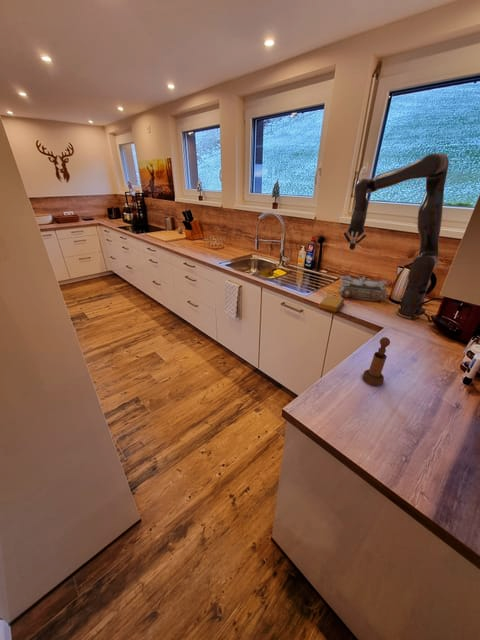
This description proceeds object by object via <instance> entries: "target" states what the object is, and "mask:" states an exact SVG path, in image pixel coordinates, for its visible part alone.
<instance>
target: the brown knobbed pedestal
mask: <svg viewBox="0 0 480 640" xmlns="http://www.w3.org/2000/svg"><path fill="white" fill-rule="evenodd" d="M379 344H380V347H378V351H376V352H374V353H373V356H372V360H371V363H370V365H369V368H368V369H366V370H364V371H363V374H362V380H363V381H364V382H365V383H366V384H368V385H370V386H374V387H380V386H382V385H383V383H384V380H385V376H384V375H383V374H382V372H383V369H384V366H385V363H386V361H387V358H388V356H387V354H385V353H386V352H387V350H386V348H387V347H389V346H390V344H391V340H390V338H389V337H385V336H383V337H381V338H380V339H379Z"/></svg>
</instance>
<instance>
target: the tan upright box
mask: <svg viewBox="0 0 480 640" xmlns="http://www.w3.org/2000/svg"><path fill="white" fill-rule="evenodd" d="M344 302H345V298H342V297H339V296H334V295H329V294H327V295H325V297H324V298H323V299H321V301H320V302H319V304H318V309H322V310H326V311H329V312H333V313H338V312H339V310H340V309H342V306H343V305H344V304H345V303H344Z"/></svg>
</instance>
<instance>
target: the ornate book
mask: <svg viewBox="0 0 480 640" xmlns="http://www.w3.org/2000/svg"><path fill="white" fill-rule="evenodd" d="M340 277H341V278H340V282H339V285H340V290H338V293H339V294H340V295H341V296H342V297H344V299H347V298H353V299H357V300H363V301H370V302H371V301H373V302H374V301H376V302H377V301H380V303H382V302H383V301H384V300H385V302H387V298H390V296H389V295H387V293H389V291H388V290H387V287H386V286H385V285H388V286H389V285H390V283H387V282H388V280H373V279H366V277H364V276H362V277H360V276H358V278H354V277H352V276H350V275H348V274H346V275H340Z"/></svg>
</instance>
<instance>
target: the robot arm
mask: <svg viewBox="0 0 480 640" xmlns="http://www.w3.org/2000/svg"><path fill="white" fill-rule="evenodd" d="M449 165H450V159H449V157H448V155H446V154H444V153H437V152H435V153H429V154H427V155H425V156H423V157H421V158H419V159H417V160H416V161H414V162H411V163H409V164H406V165H404V166H401V167H397V168H394V169H392V170H389V171H385V172H382V173H380V174H377V175H376V176H375V177H372V178H371V177H370V178H361V179H359V180H358V181H357V182H356V184H355V187H354V207H353V210H352V214H351V218H350V224H349V228H348V229H347V231H345V232H343V235H344V238H345V239H346V242H348V243H349V249H350V251H354V250H355V249H356V244H359V243H360V242H361V241H362V240H364V238H366V237H367V233H365V230H364V228H365V224H366V220H367V215H368V209H369V204H370V200H369V198H367V194H371V193H374V192H377V191H379V190H382V189H386V188H389V187H392V186H396V185H398V184H401V183H403V182H406V181H409V180H414V179H424V178H425V191H424V195H423V197H422V200H421V202H420V205H419V208H418V212H417V224H416V225H417V226H416V227H417V232H418V237H419V243H420V244H419V251H418V255H417V256H416V257H415V258H413V259H414V260H412V263H411V266H410V270H409V272H408V276H407V282H406V285H405V287H404V290H403V294H402V297H401V299H400V303H399V304H398V309H397V311H396V314H397V316H399V317H401V318H404V319H408V320H412V321H414V320H415V319H417V318H419V317H421V316H422V315H424V316H426V318H427V320H428V322H430V323H433V322H434V321H433V320H434V319H431V317H430V316H429V315H428V314H427V313H426V310H427V309H426V308H424V307H423V306H424V303H425V300H424V299H425V296H426V294H427V291H428V288H429V285H430V283H431V281H430V280H431V277H432V274H433V272H434V269H436V268H437V267H438V265H439V262H440V257H439V256H440V254H439V240H440V234H441V229H442V221H443V211H444V199H445V197H444V196H445V187H446V186H445V185H446V180H447V175H448V170H449ZM359 237H360V238H359Z"/></svg>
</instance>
